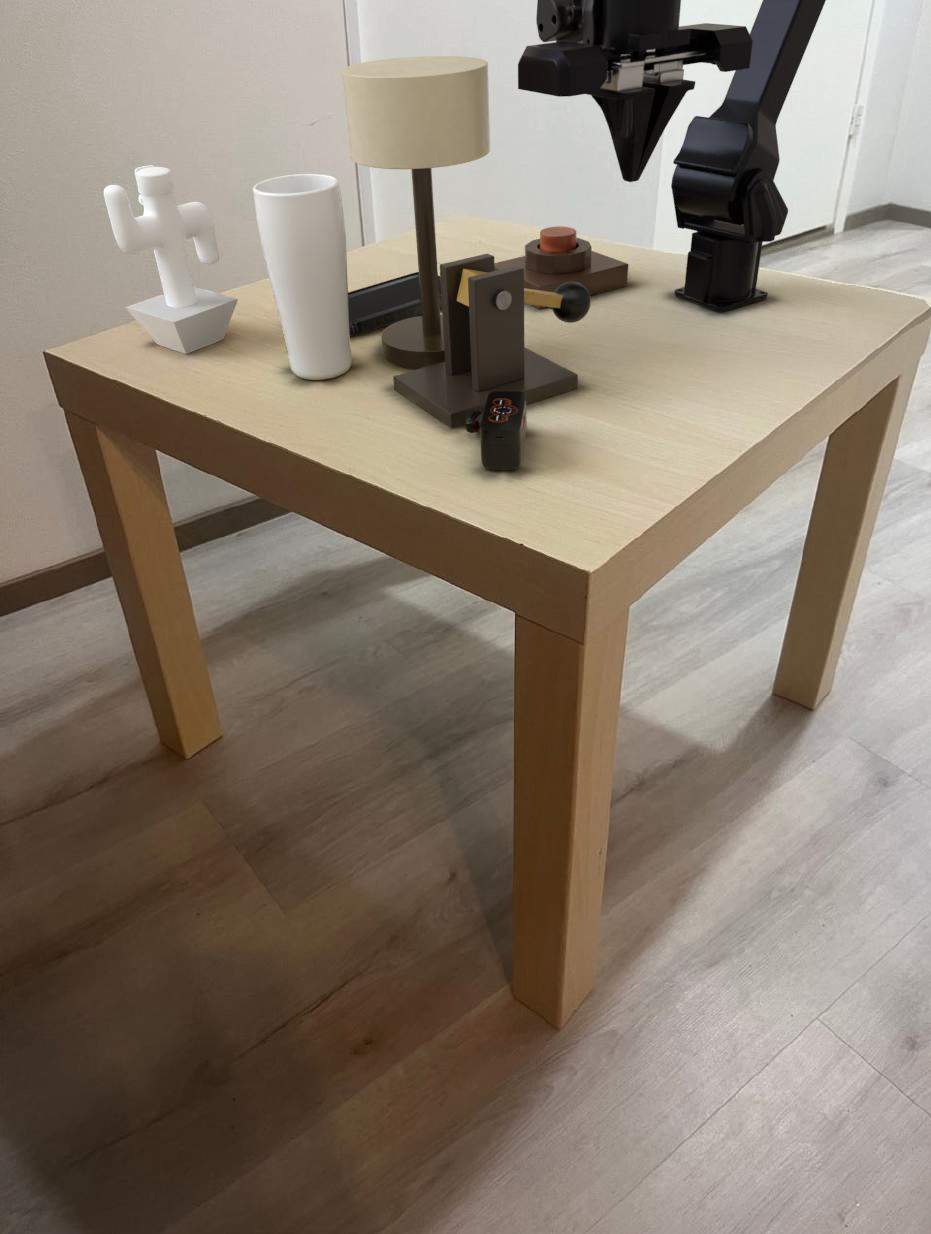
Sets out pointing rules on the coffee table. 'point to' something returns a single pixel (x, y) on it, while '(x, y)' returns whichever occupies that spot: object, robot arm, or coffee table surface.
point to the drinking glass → (307, 269)
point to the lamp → (418, 160)
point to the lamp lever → (544, 298)
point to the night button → (558, 239)
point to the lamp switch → (482, 347)
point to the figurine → (171, 261)
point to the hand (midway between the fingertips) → (630, 180)
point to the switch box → (568, 268)
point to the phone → (385, 303)
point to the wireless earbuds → (501, 429)
